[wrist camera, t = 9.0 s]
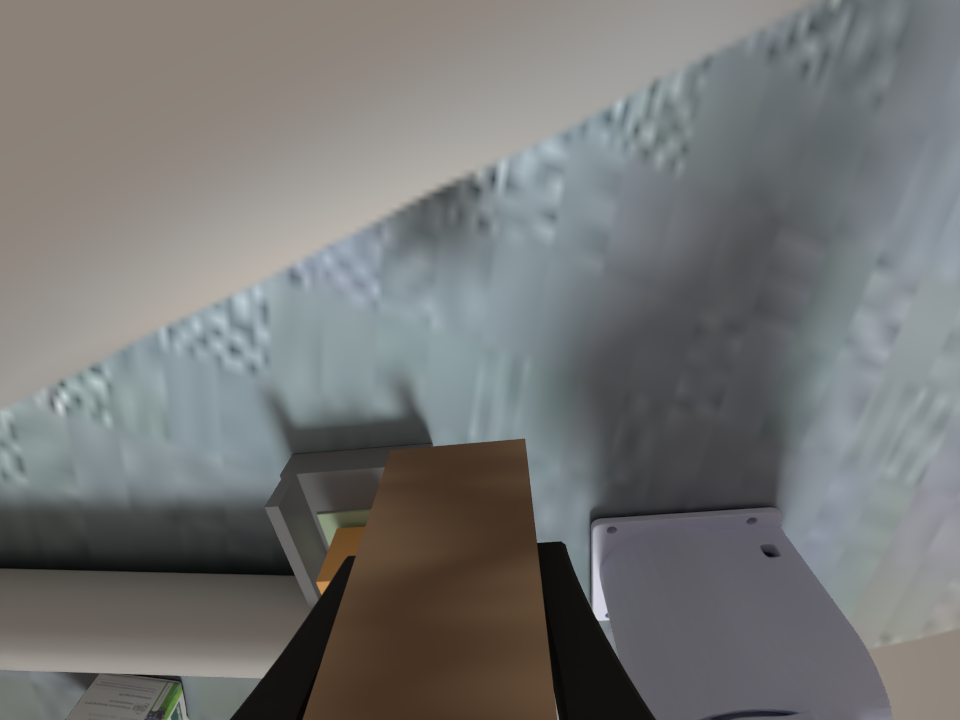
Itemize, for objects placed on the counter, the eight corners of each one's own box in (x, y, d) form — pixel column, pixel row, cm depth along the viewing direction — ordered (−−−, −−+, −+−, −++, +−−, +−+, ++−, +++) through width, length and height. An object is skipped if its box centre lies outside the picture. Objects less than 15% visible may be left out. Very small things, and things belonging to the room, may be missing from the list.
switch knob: (336, 528, 22) (316, 582, 19) (397, 524, 22) (384, 578, 19) (344, 549, 22) (325, 604, 20) (403, 546, 22) (391, 600, 20)
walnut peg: (525, 438, 13) (566, 803, 6) (534, 537, 15) (575, 914, 8) (390, 450, 13) (272, 811, 6) (415, 546, 15) (344, 916, 8)
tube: (-106, 679, 25) (341, 694, 24) (-216, 660, 21) (313, 677, 20) (-28, 577, 29) (362, 587, 28) (-110, 544, 25) (341, 555, 24)
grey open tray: (292, 454, 22) (260, 507, 19) (432, 443, 22) (422, 496, 19) (351, 609, 28) (334, 669, 24) (464, 602, 27) (461, 664, 24)
